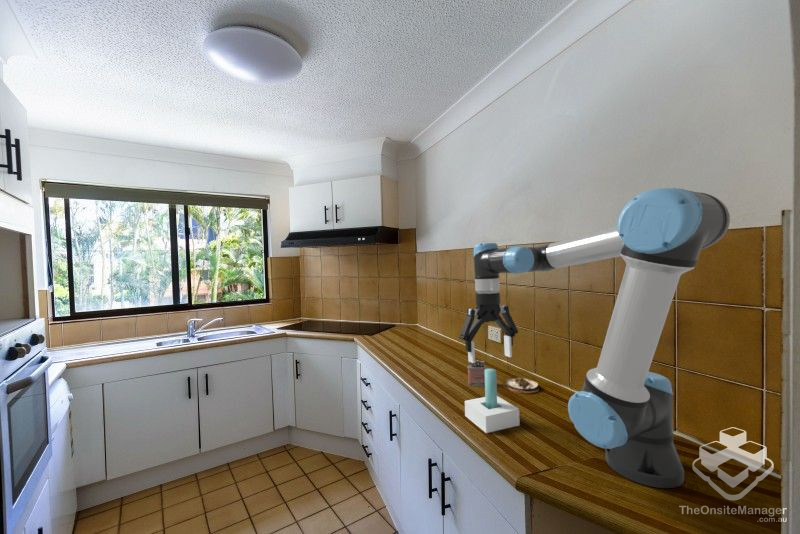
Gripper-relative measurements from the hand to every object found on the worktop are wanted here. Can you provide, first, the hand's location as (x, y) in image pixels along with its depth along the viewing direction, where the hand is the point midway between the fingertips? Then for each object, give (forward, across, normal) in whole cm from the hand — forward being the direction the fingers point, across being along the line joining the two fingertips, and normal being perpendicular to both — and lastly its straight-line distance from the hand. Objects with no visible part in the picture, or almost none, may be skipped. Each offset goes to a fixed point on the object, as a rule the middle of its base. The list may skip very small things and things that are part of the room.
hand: (490, 359), depth 104 cm
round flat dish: (+20, -27, -19) cm, 39 cm away
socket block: (+20, 0, -1) cm, 20 cm away
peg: (+20, 0, -1) cm, 20 cm away
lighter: (+19, -13, -29) cm, 37 cm away
